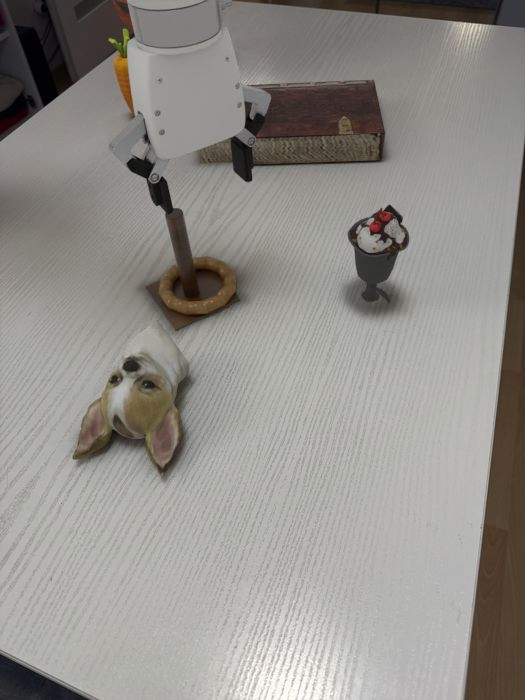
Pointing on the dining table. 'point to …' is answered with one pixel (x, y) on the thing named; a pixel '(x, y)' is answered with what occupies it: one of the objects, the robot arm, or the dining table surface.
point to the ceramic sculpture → (140, 399)
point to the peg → (187, 277)
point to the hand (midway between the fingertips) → (204, 191)
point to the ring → (204, 305)
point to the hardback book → (314, 125)
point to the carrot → (123, 69)
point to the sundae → (377, 248)
